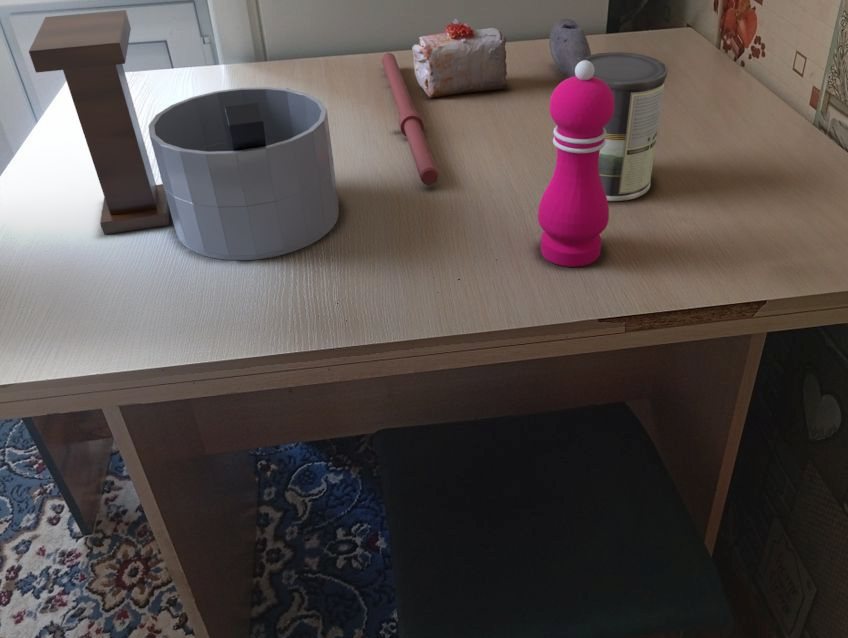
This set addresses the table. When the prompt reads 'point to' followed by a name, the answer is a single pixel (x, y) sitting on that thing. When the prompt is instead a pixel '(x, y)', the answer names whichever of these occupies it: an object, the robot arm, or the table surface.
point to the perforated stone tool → (567, 45)
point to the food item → (460, 61)
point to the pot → (247, 174)
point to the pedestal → (105, 113)
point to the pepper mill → (576, 170)
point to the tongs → (245, 126)
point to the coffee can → (629, 121)
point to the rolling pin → (410, 122)
